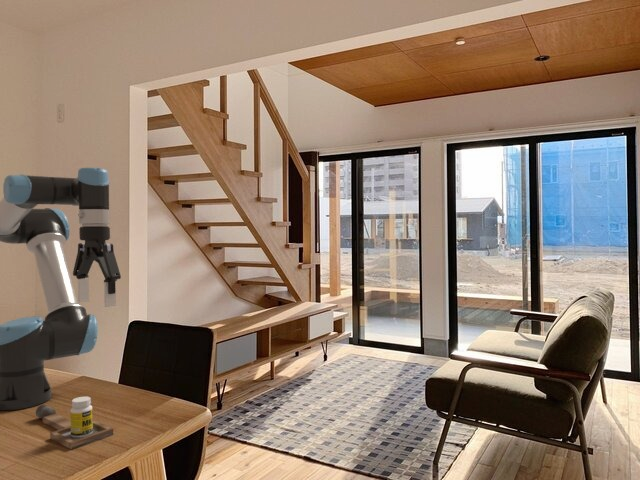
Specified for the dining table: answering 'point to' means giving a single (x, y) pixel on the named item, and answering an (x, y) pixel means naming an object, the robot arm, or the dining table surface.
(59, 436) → the wooden tray with handle
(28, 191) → the robot arm
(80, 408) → the supplement bottle
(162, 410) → the dining table surface
